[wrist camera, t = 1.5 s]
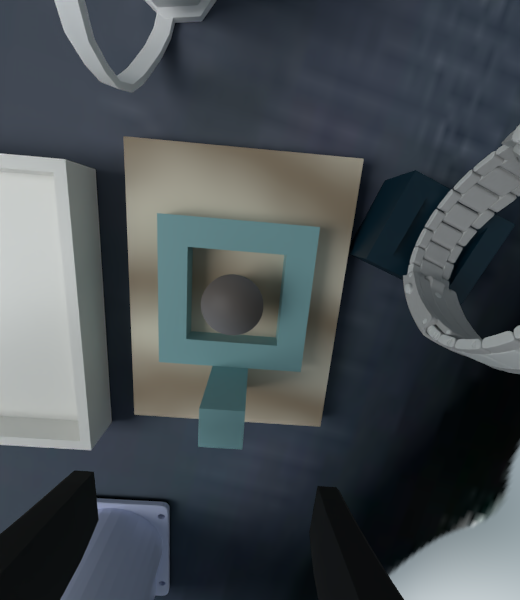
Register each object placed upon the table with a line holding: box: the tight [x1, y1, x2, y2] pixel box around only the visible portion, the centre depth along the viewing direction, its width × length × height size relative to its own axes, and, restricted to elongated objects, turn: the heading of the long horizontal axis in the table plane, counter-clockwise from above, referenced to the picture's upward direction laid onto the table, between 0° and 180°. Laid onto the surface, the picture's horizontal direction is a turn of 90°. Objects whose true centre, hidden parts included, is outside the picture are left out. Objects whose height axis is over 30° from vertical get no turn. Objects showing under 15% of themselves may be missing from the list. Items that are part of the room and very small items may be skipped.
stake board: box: [124, 136, 364, 427], centre depth 15 cm, size 16×12×4 cm
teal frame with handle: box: [157, 213, 320, 449], centre depth 14 cm, size 10×8×5 cm
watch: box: [348, 125, 520, 374], centre depth 11 cm, size 6×8×11 cm
